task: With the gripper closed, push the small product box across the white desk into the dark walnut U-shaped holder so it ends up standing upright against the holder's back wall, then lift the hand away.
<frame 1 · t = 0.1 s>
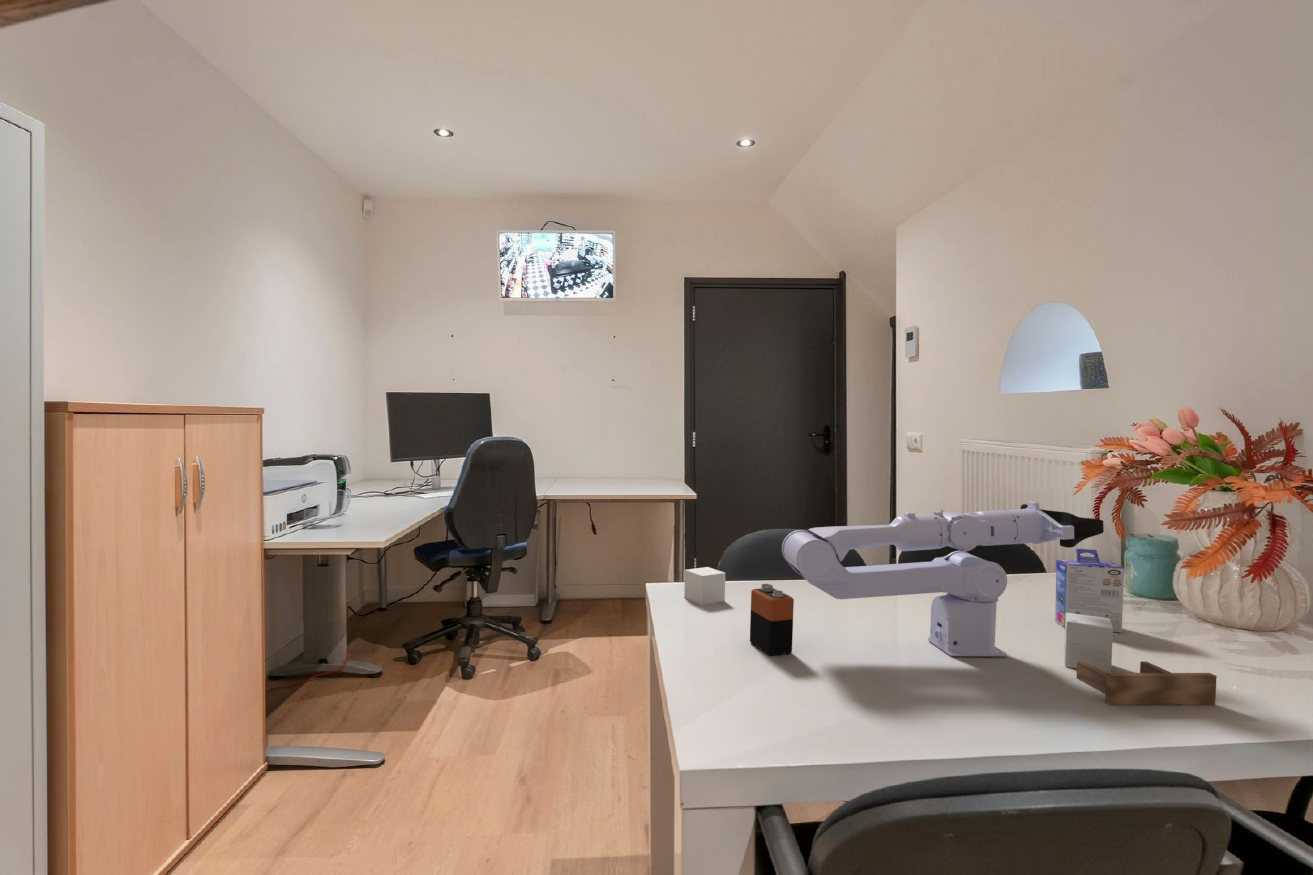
hand: (1084, 522, 106), 22 cm above the table, tool horizontal, fingers open, 7 cm apart
ink cartridge box: (1087, 627, 119), on the table
walnut holder: (1133, 689, 90), on the table
product box: (1086, 666, 99), on the table
battery: (770, 649, 103), on the table
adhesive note: (704, 600, 131), on the table
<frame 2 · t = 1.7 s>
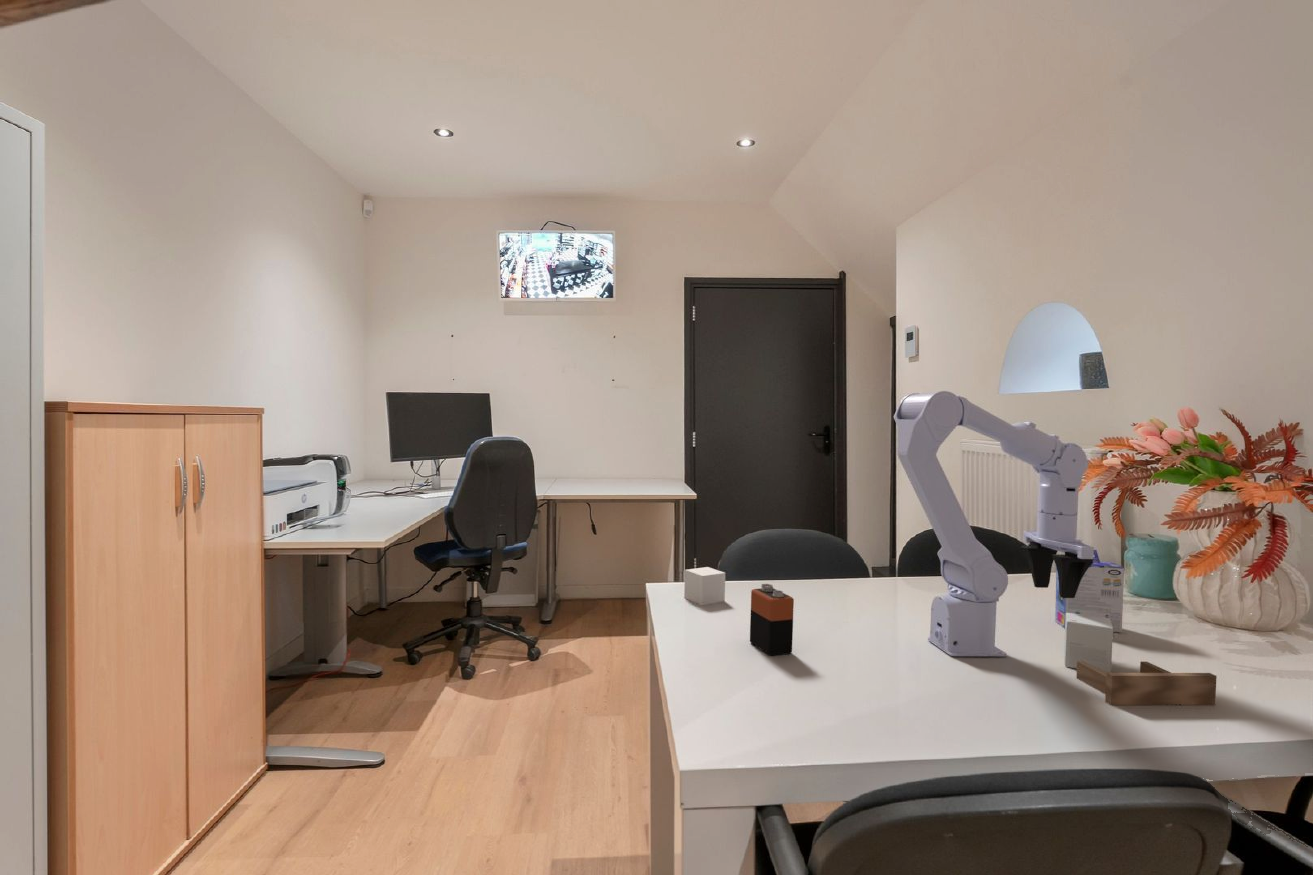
hand: (1053, 592, 107), 9 cm above the table, tool pointing down, fingers open, 6 cm apart
nothing on the table moved.
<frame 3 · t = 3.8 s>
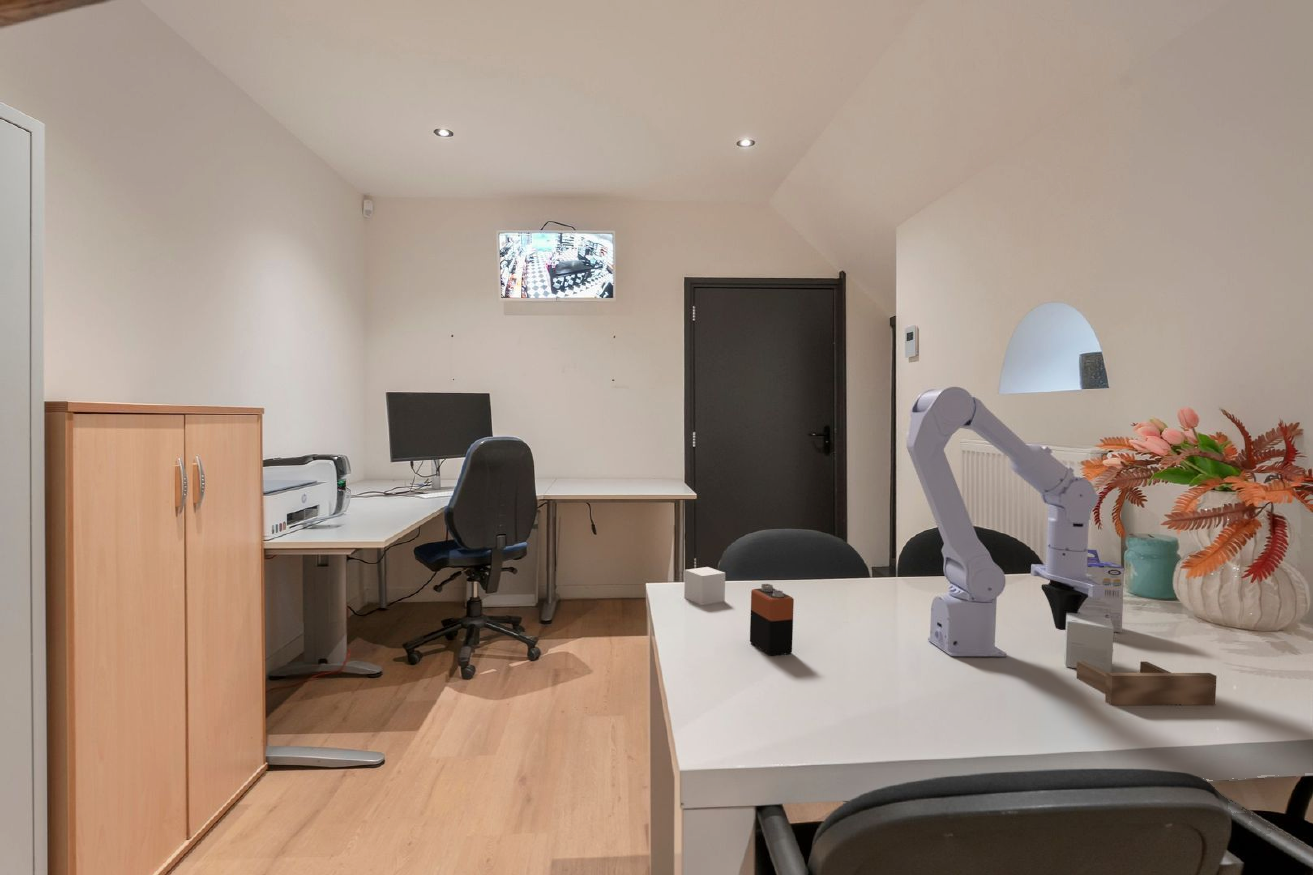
hand: (1063, 628, 105), 4 cm above the table, tool pointing down, fingers closed
product box: (1087, 666, 99), on the table, touching gripper
everything else where it was.
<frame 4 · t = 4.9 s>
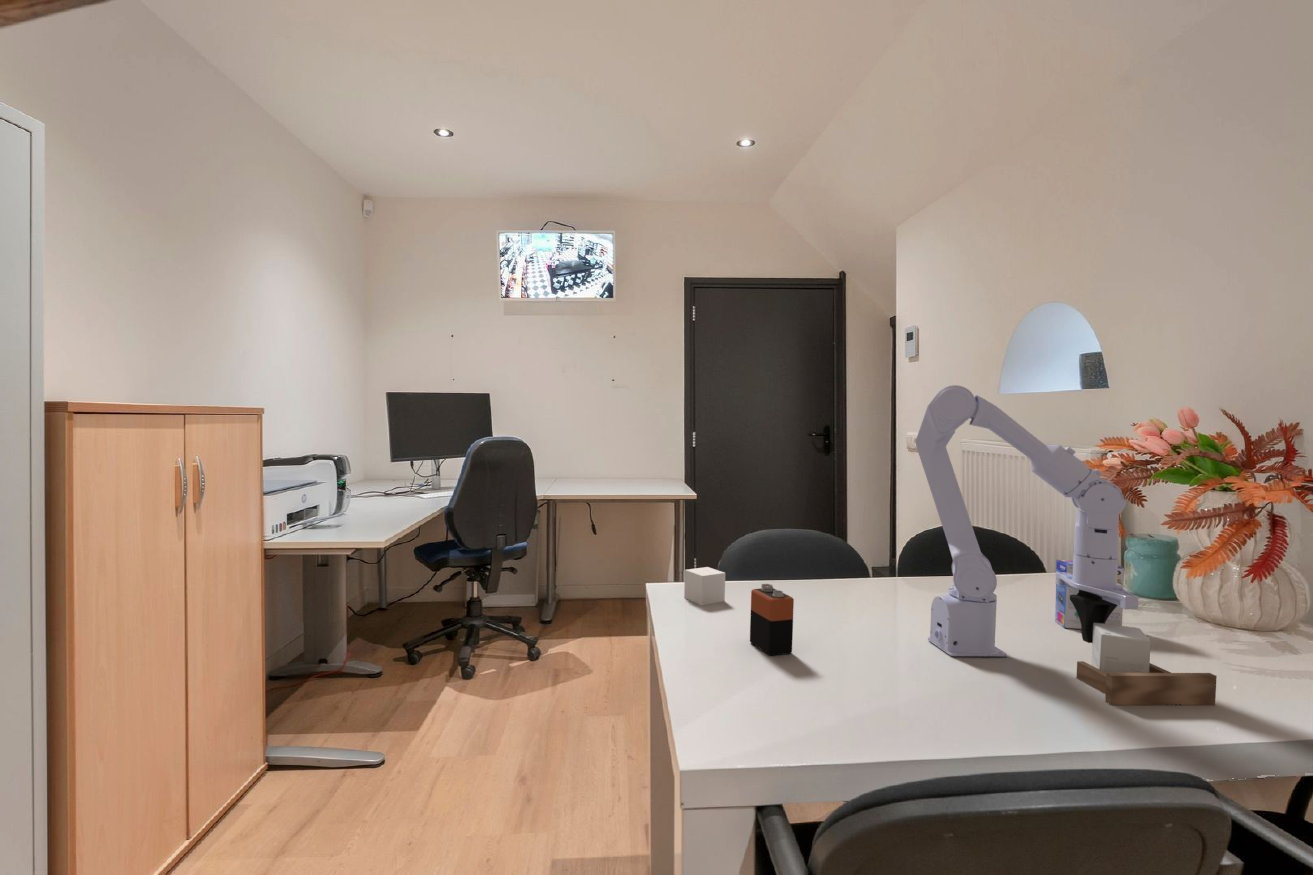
hand: (1091, 641, 99), 4 cm above the table, tool pointing down, fingers closed
product box: (1118, 680, 94), on the table, touching gripper
everything else where it was.
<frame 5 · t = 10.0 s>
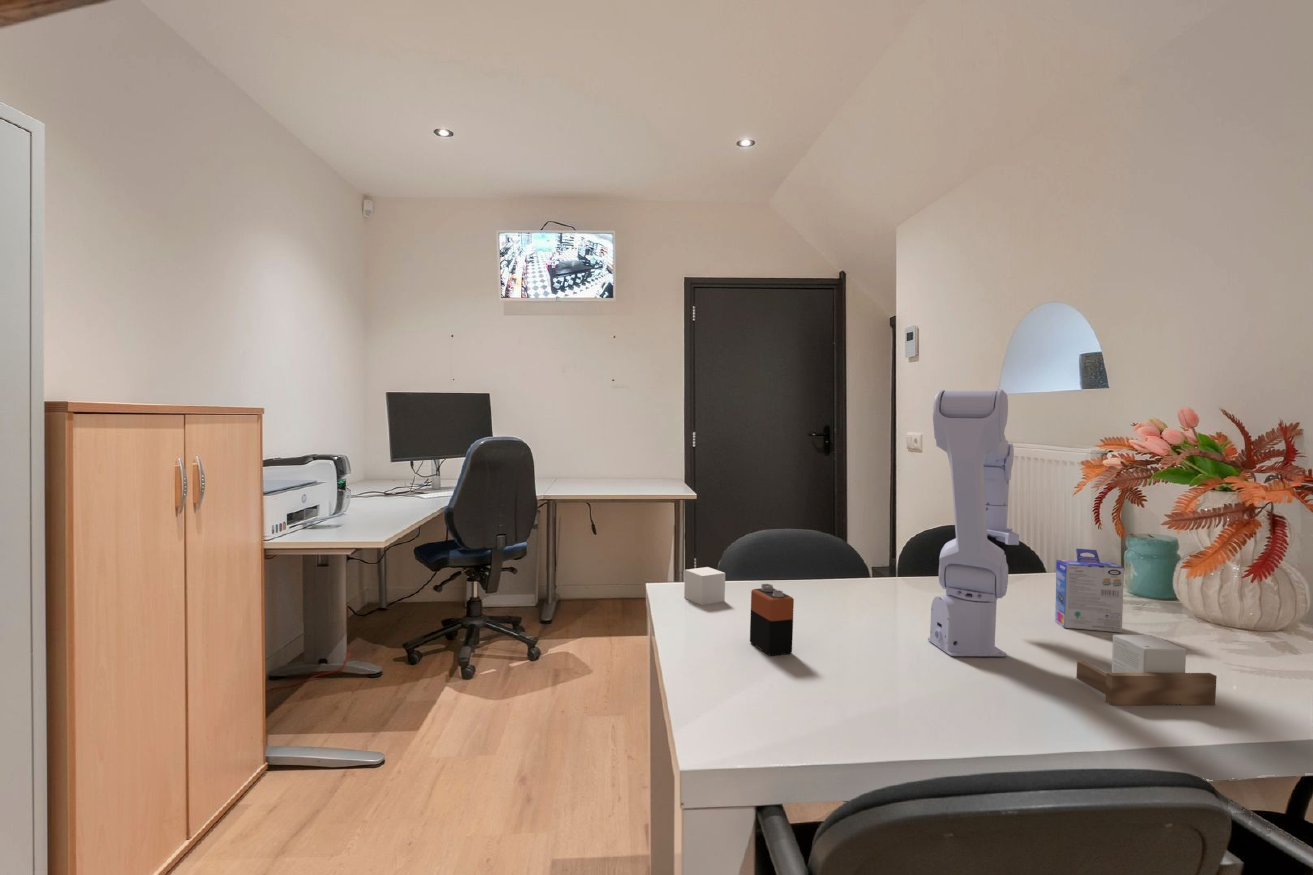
hand: (987, 576, 118), 9 cm above the table, tool pointing down, fingers closed
product box: (1146, 693, 90), on the table
everything else where it was.
at the end: product box 1.3 cm from the target spot, on the table; product box tilted 0° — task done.
